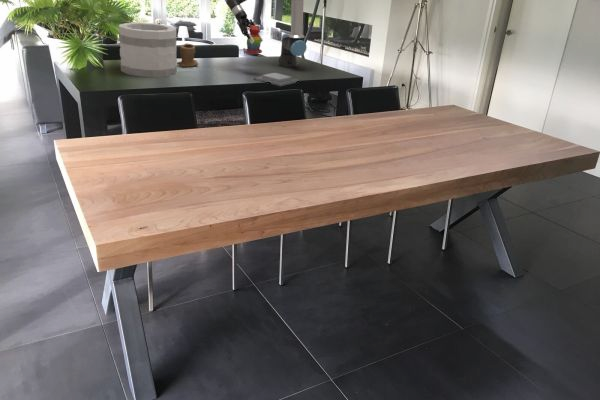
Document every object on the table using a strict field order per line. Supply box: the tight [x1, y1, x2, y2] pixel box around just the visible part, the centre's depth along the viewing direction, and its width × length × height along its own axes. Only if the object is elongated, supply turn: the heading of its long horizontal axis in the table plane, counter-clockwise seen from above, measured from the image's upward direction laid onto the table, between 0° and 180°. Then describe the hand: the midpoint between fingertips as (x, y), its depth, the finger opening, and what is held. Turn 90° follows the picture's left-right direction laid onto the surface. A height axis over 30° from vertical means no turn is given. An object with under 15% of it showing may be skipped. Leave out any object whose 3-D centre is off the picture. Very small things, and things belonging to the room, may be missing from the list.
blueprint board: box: [253, 72, 300, 87], centre depth 336 cm, size 22×22×3 cm
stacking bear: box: [245, 24, 263, 55], centre depth 338 cm, size 11×10×18 cm
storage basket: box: [118, 22, 178, 78], centre depth 319 cm, size 35×35×27 cm
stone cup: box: [177, 43, 199, 68], centre depth 346 cm, size 15×12×15 cm
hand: (257, 42), depth 337 cm, fingers closed on stacking bear, 9 cm apart
